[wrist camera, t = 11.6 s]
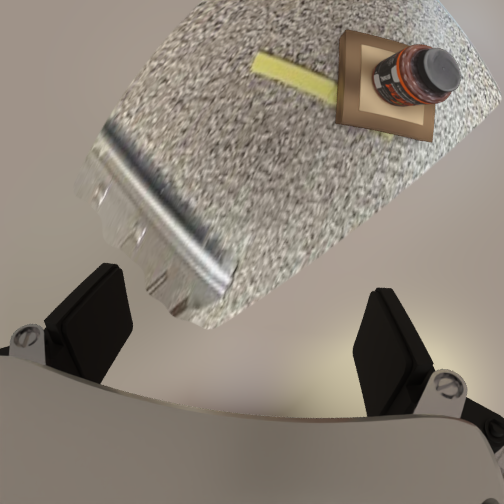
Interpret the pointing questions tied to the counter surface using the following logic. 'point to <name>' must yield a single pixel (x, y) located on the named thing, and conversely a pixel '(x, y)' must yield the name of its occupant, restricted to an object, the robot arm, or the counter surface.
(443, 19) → the counter surface
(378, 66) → the supplement bottle
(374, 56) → the base slab
